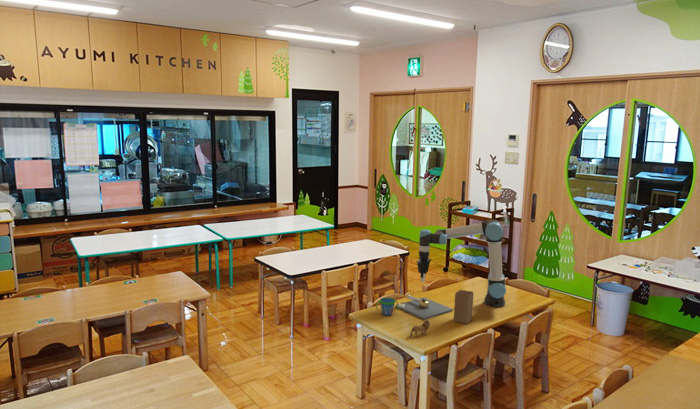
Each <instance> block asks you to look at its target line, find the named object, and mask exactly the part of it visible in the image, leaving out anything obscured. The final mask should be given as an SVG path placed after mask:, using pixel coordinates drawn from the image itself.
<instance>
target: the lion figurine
mask: <svg viewBox="0 0 700 409" xmlns="http://www.w3.org/2000/svg"><path fill="white" fill-rule="evenodd" d="M430 324H431V322H430V320H429V319H426V320H423V322H422V324H421V325H413V327H412V328H411V332H410V336H409V337H412V336H413V333H414V332H415V334H414V336H415V337H416V338H418V337H419V335H418V332H421V334H422V335H424V336H427V330H429V329H430Z"/></svg>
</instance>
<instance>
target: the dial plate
mask: <svg viewBox="0 0 700 409" xmlns="http://www.w3.org/2000/svg"><path fill="white" fill-rule="evenodd" d="M419 299H420V300H422V299H426V300H428V301H429V308H420V307H419V303H418V302H415V301H413V300H410V301H406V302H402V303H398V305H399V308H398V309H397V304H394V308H396V309H397V310H401V311H403V312H405V313H408V314H409V315H411V316H414V317H416V318H419V319H421V320H422V321H425V320H429V319H431V318H435V317H438V316H442V315H445V314H448V313H450V312H451V313H452V312H454V308H451V307H449V306H446V305H444V304H441V303H439V302H436V301H434V300H432V299H429V298H427V297H425V296H424V297H420V298H419Z"/></svg>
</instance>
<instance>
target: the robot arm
mask: <svg viewBox="0 0 700 409" xmlns="http://www.w3.org/2000/svg"><path fill="white" fill-rule="evenodd" d="M474 235H475V236H476V235H483V236H485V241H486V243H487V245H488V258H489V260H488V261H489V262H488V263H489V273H488V276H487V288H486V290H487V291H486V294H485V297H484V299H483V303H484V305H486V306H488V307H493V308H503V307H504V306H506V300H505V295H506V292H507V287H506V277H505V275H504V274H503V254H502V243H503V242H504V229H503V225H502V223H501V222H500V221H499V220H496V219H488V220H484V221H480V222H479V223H475V224H469V225H463V226H462V225H461V226H457V227H451V228H446V229H442V228H440V229H439V228H438V229H437V230H435V232H434V233H432V232H431V230H429V229H421V230H420V231H419V240H418V241H419V244H418V245H419V247H418V256H419V257H418V260H416V265H417V271H418V273H419V274H420V282H421V283H425V282H426V274H427V273H428V272H429V267H430V264H431V261H432V259H431V258H430V247H431V246H430V245H431V244H433V245H446V244H447V240H449V239H450V240H451V239H456V238H457V239H458V238H462V237H463V238H464V237H470V236H474Z"/></svg>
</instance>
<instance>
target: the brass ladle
mask: <svg viewBox="0 0 700 409" xmlns="http://www.w3.org/2000/svg"><path fill="white" fill-rule="evenodd" d="M406 299H409V300H410V301H412V300H413V301H415V302H418V303H419V307H420V308H429V301H428V300H426V299H422V300H420V298H418V297H415V296H413V295H410V294H407V295H406Z"/></svg>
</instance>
